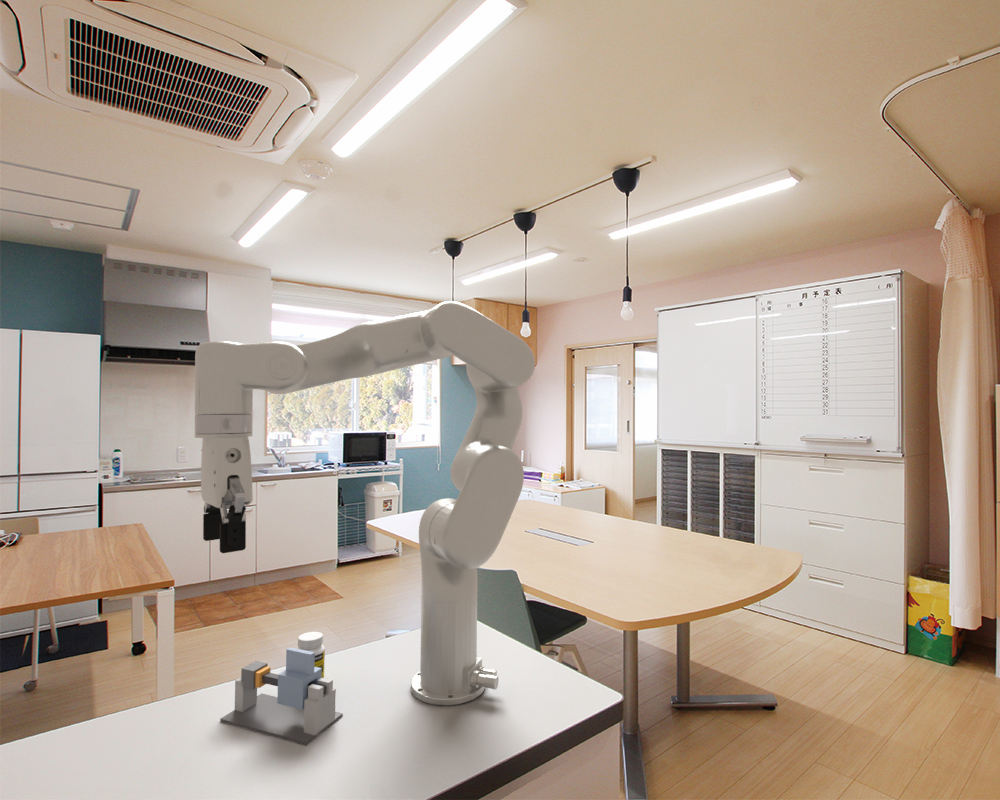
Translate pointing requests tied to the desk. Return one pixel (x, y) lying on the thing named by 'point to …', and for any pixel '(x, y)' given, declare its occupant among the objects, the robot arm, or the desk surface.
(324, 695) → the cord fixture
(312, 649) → the supplement bottle
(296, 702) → the light blue step block
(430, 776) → the desk surface
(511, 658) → the desk surface
